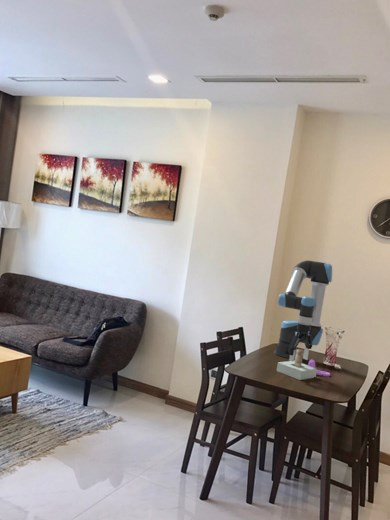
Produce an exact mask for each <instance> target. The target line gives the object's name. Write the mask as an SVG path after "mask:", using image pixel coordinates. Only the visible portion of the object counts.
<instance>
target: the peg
mask: <svg viewBox="0 0 390 520" xmlns="http://www.w3.org/2000/svg"><path fill="white" fill-rule="evenodd" d="M303 355H304V349H300V348H299V349H297V350H296V356H295V358H294V361H295V362H294V366H295V367H298V368H301V364H303Z"/></svg>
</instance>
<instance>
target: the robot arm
mask: <svg viewBox="0 0 390 520" xmlns="http://www.w3.org/2000/svg"><path fill="white" fill-rule="evenodd" d="M305 279H310V284H312V285H311V290H310V296H306V295H305V296H302V297H301V296H298V294H299V293H300V292H299V291H300V289H301V286H302V284H303V283H304V282H303V281H304V280H305ZM332 281H333V265H332V264H330V263H327V262H321V261H314V260H309V259H308V260H303V261H301V262H299V263H297V264H296V265H294V267H293V268H292V271H291V276H290V280H289V281H288V284H287V286H286V288H285V291H284V293H280V294H279V295H278V298H277V304H278V306H279V307H283V308H287V309H293V310H297V311H299V316H298V320H283V321H282V322H281V327H280V332H279V338H278V342H277V344H276V347H275V349H274V352H273V353H274V355H277V356H278V357H282V358H285V359H286V358H287V359H288V361H293V362H294V361H295V356H296V350H297V347H298V345H299V344H300V343H301V344H304V346H305V347H304V348H303V351H304V352H303V358H302V360H306V361H309V360H308V359H309V353H310V350H312V348H313V346H316V347H317V346H318V345H319V344H320V342H321V340H322V335H323V332H324V329H323V328H322V325H321V319H322V318H321V317H322V311H323V305H324V299H325V294H326V293H325V292H326V288H327V286H330V283H331V282H332Z"/></svg>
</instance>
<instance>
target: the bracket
mask: <svg viewBox="0 0 390 520" xmlns="http://www.w3.org/2000/svg"><path fill="white" fill-rule="evenodd" d="M307 365H308V366H311V367H313V368H316V361H315V360H314V359H309V360H308V364H307ZM316 375H319V376H322V375H323V377H330V376H331V373H330V372H327V371H323V370H318V369H317V372H316Z"/></svg>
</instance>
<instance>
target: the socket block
mask: <svg viewBox="0 0 390 520" xmlns="http://www.w3.org/2000/svg"><path fill="white" fill-rule="evenodd" d="M294 362H295V360H294ZM294 362H293V361H290V360H288V361H280V362H279V361H278V362H277V365H276V372H278V373H281V374H283V375H286V376H289V377H290V378H293V379H296V380H299V381H301V380H308V379H314V377H315V378H316V376H317V374H316V372H317V370H318V369H317V368H316V367H315V368H313V367H311V366H308V364H305V363H302V364H301V368H298V367H295V366H294Z"/></svg>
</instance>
